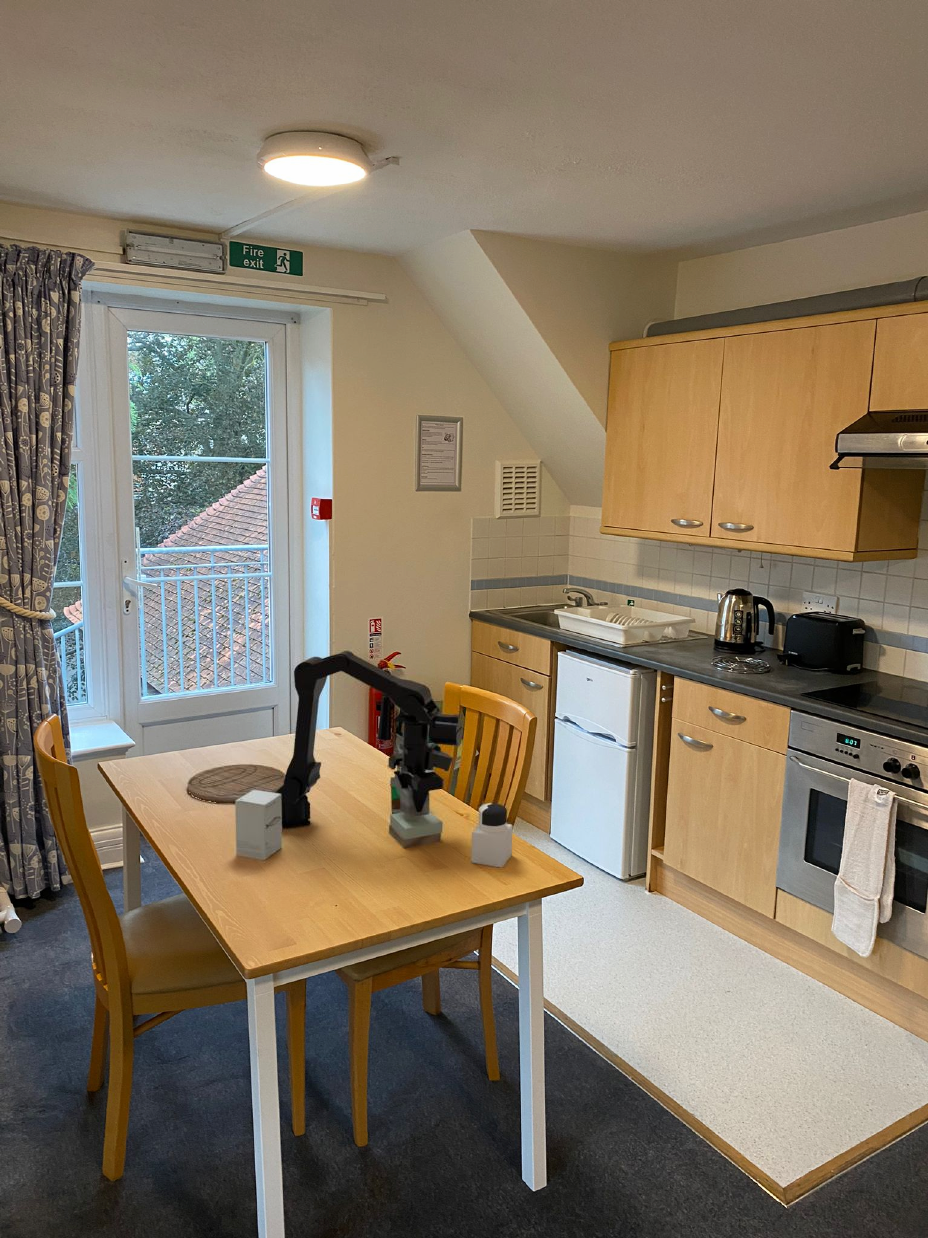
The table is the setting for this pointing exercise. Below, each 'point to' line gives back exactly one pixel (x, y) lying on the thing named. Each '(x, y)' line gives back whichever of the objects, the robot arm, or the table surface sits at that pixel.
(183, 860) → the table surface
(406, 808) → the grey cube
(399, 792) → the food container
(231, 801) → the trivet
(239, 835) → the supplement box
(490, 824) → the medicine bottle
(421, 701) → the robot arm
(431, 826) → the sage slab
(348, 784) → the table surface
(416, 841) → the walnut slab
